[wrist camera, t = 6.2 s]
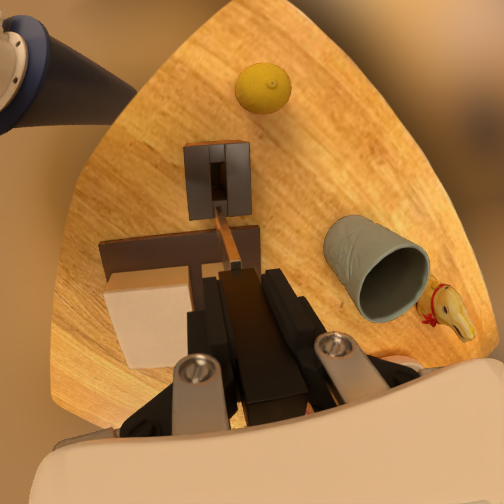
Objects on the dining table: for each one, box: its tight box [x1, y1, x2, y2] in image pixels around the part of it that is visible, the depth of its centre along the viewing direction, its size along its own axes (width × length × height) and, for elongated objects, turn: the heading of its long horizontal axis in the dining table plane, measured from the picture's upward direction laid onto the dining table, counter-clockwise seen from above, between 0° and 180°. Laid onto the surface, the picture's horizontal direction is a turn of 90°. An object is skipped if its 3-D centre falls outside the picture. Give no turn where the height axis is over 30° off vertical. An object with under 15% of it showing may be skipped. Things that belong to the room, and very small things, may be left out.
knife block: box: [183, 140, 252, 221], centre depth 30 cm, size 7×6×7 cm
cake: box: [103, 266, 195, 369], centre depth 35 cm, size 12×10×5 cm
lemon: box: [235, 63, 292, 114], centre depth 26 cm, size 6×6×8 cm
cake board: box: [98, 225, 261, 311], centre depth 38 cm, size 20×20×1 cm
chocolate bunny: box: [417, 274, 477, 343], centre depth 40 cm, size 7×11×15 cm, turn 25°
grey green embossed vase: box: [324, 215, 430, 323], centre depth 35 cm, size 10×10×12 cm
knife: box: [215, 206, 309, 427], centre depth 14 cm, size 3×2×16 cm, turn 2°
